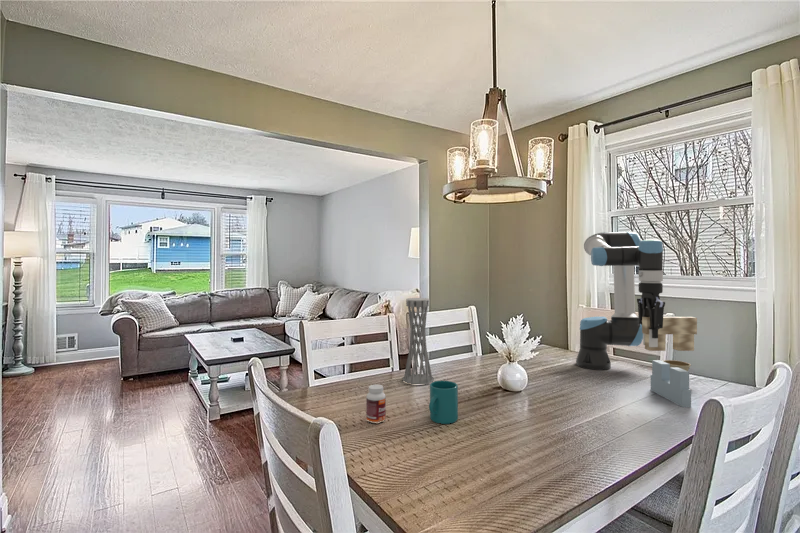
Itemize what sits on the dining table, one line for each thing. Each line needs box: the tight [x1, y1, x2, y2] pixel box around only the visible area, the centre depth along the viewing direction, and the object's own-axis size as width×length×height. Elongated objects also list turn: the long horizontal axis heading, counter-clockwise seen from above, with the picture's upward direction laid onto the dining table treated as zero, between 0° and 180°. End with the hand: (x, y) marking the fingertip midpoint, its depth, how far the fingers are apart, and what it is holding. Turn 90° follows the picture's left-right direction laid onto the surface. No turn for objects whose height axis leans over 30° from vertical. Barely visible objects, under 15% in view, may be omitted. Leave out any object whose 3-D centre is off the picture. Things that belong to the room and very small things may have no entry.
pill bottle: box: [365, 384, 387, 422], centre depth 129 cm, size 6×6×11 cm
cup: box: [428, 380, 459, 425], centre depth 129 cm, size 9×12×11 cm
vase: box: [401, 297, 435, 385], centre depth 171 cm, size 14×13×35 cm
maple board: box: [642, 316, 698, 352], centre depth 147 cm, size 18×3×12 cm, turn 89°
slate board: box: [650, 359, 692, 408], centre depth 148 cm, size 18×3×12 cm, turn 179°
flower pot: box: [662, 359, 692, 372], centre depth 165 cm, size 9×9×9 cm
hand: (650, 345), depth 148 cm, fingers closed on maple board, 3 cm apart
